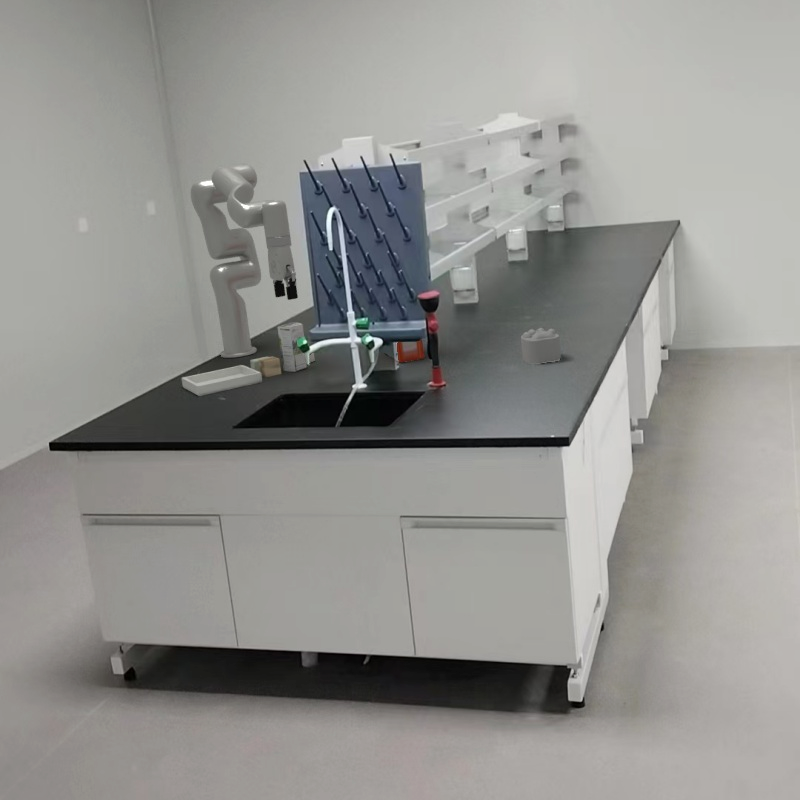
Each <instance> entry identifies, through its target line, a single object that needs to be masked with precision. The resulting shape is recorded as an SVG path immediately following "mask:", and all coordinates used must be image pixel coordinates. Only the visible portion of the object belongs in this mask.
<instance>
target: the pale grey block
mask: <svg viewBox="0 0 800 800" xmlns="http://www.w3.org/2000/svg"><path fill="white" fill-rule="evenodd" d="M313 361H315V362H316V360H315V352H314V353H312V354H311V355H310V363H309V364H312V363H311V362H313ZM313 363H314V362H313Z"/></svg>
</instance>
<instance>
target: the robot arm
mask: <svg viewBox="0 0 800 800" xmlns="http://www.w3.org/2000/svg"><path fill="white" fill-rule="evenodd" d="M257 183H258V177H257V173H256V170H255V169H254V167H252V165H250V164H248V163H237V164H236V163H235V164H229V165H223V166H220V167H218V168H216V169H214V171H213V172H212V174H211V177H208V178H203V179H200V180H197V181H195V182H194V183H193V184H192V185H191V188H190V199H191V203H192V206H193V208H194V210H195V212H196V214H197V217H198V218H199V221H200V223H201V228H202V232H203V235H204V236H203V237H204V240H205V244H206V248H207V252H208V254H209V257H210V258H211V259H213V260H215V261H216V260H218V261H219V260H227V259H234V258H239V259H240V260H235V261H230V262H229V261H228V262H223V263H218V264H216V265H214V266H213V267H212V268H211V270H210V272H209V280H210V283H211V287H212V290H213V292H214V296H215V301H216V308H217V313H218V318H219V319H218V320H219V326H220V331H221V333H220V334H221V338H222V345H223V346H222V347H223V350H222V351H220V353H219V356H220V355H221V356H220V357H221V358H223V359H226V358H227V359H229V358H230V359H231V358H241V357H246V356H247V357H248V356H250V355H253V354H255V353H256V352H257V348H256V347H255V346H252V342H251V335H250V327H249V321H248V320H249V319H248V312H247V307H246V302H245V299H244V298H243V297H242V296H241V294H239V293H238V292H237V291H238V290H242V289H248V288H252V287H255V286H257V285H259V284H260V282H261V280H262V270H261V266H260V263H259V257H258V253H257V249H256V244H255V242H254V239H253V236H252V234H251V233H250V231H249V230H248V229H252V228H259V227H263V229H264V235H265V242H266V243H265V244H266V248H267V259H268V261H267V263H268V272H269V277H270V279H271V280H272V284H273V288H274V289H273V291H274V296H275V298H282V297H285V296H286V297H287V300H288V301H292V300H296V299H298V298H299V297H298V289H297V288H298V287H297V278H296V276H297V273H296V271H295V270H296V269H295V263H294V258H293V254H292V249H291V247H292V240H291V239H292V238H291V229H290V224H289V218H288V209H287V205H286V202H285V201H283V200H275V199H268V200H262V201H259V200H258V201H253V202H251V201H252V200H253V198H254V195H255V190H254V189H255V187H256V186H257ZM222 203H226V208H227V213H228V215H229V217H230V218H231V220H232V221H233V222H234V223H235V224H237V225H238V226H239V227H237V228H229V225H228V221H227V217H226V215H225V213H224V212H223V211H222V210H221V209H220V208H219V207H218V206H217V205H215V204H222ZM283 281H284V282H285V283H284V282H283ZM285 284H286V286H285Z"/></svg>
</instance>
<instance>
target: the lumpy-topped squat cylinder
mask: <svg viewBox="0 0 800 800" xmlns="http://www.w3.org/2000/svg"><path fill="white" fill-rule="evenodd" d="M520 341H521V342H520V343H521V355H522V361H523V360H524V361H525V362H527V363H542V362H547V361H554V360H558V359H560V358H561V359H562V354H561V339H560V335H559V333H557V332H556V330H555V329H554V328H549V329H548V330H545V329H544V327H539V328H537V329H536V330H535V329H533V328H532V329H531V328H530V329H529V330H528V331H525V332H523V334H522V335H521V336H520ZM524 361H523V362H524ZM525 362H524V363H525ZM527 363H526V364H527Z"/></svg>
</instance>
